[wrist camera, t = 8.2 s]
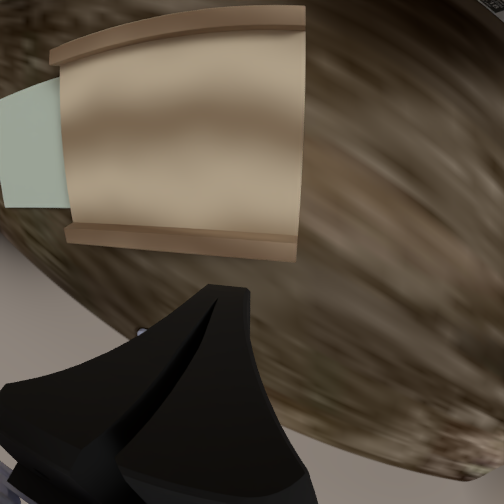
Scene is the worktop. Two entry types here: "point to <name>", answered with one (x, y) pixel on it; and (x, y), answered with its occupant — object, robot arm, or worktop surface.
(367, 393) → the worktop surface
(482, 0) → the light bulb box
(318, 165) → the worktop surface
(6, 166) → the cover plate
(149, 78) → the wooden box
